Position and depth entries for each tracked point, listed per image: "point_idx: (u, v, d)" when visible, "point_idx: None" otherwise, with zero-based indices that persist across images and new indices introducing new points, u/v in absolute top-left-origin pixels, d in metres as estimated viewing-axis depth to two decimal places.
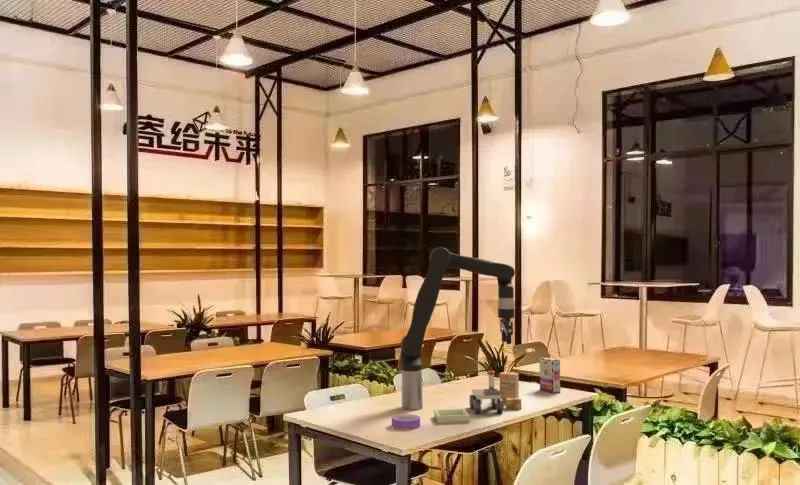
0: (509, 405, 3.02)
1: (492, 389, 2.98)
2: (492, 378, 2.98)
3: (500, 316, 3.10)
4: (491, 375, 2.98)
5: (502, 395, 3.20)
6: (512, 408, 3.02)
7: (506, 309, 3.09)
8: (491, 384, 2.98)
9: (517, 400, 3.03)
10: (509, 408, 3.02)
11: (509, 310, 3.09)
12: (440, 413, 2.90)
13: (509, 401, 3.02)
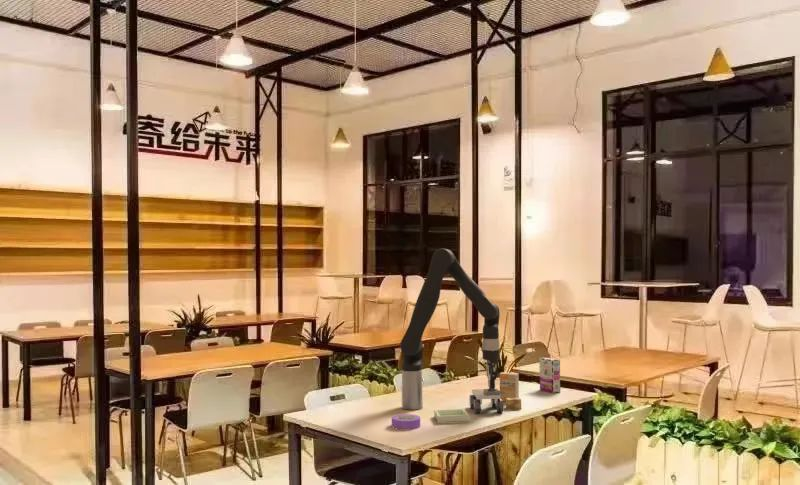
0: (509, 405, 3.02)
1: (492, 389, 2.98)
2: None
3: (484, 358, 2.97)
4: None
5: (502, 395, 3.20)
6: (512, 408, 3.02)
7: (491, 350, 2.95)
8: None
9: (517, 400, 3.03)
10: (509, 408, 3.02)
11: (494, 351, 2.96)
12: (440, 413, 2.90)
13: (509, 401, 3.02)
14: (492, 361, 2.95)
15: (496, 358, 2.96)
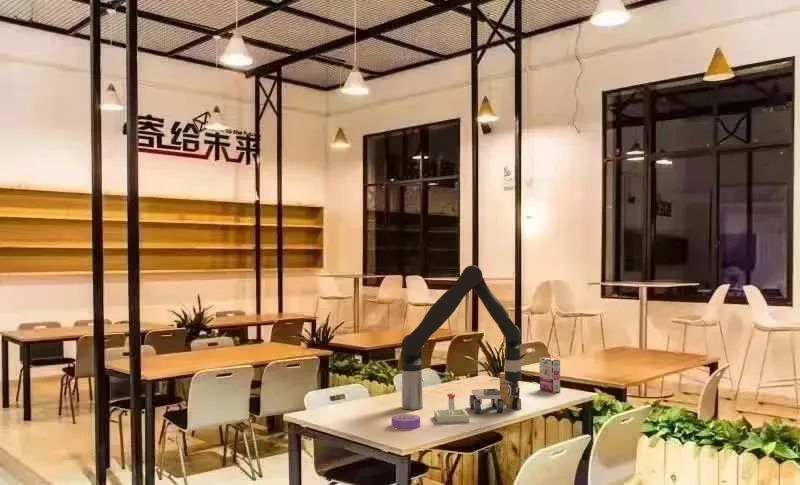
0: (509, 405, 3.02)
1: (452, 413, 2.84)
2: (452, 402, 2.84)
3: (507, 379, 3.03)
4: (451, 398, 2.84)
5: (502, 395, 3.20)
6: (512, 408, 3.02)
7: (513, 372, 3.01)
8: (451, 408, 2.84)
9: None
10: (509, 408, 3.02)
11: (516, 373, 3.01)
12: (440, 413, 2.90)
13: (509, 401, 3.02)
14: (514, 382, 3.01)
15: (518, 379, 3.02)
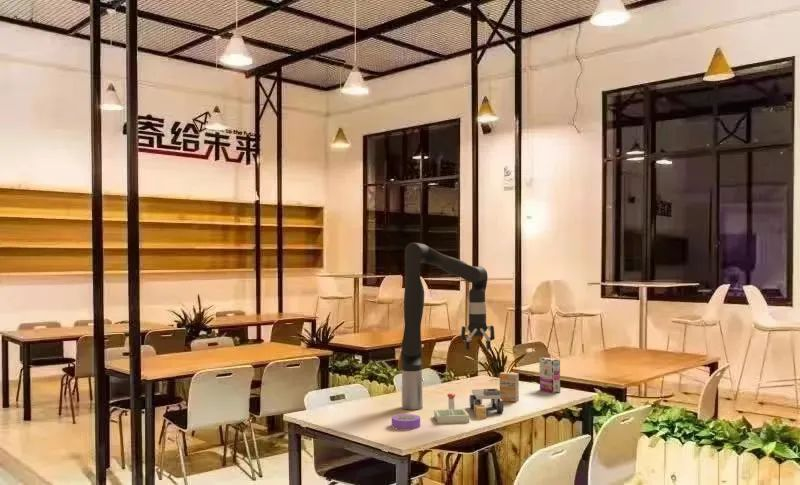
0: (474, 411, 2.92)
1: (452, 413, 2.84)
2: (452, 402, 2.84)
3: None
4: (451, 398, 2.84)
5: (502, 395, 3.20)
6: (475, 415, 2.90)
7: None
8: (451, 408, 2.84)
9: (476, 408, 2.88)
10: (474, 414, 2.92)
11: (469, 315, 2.92)
12: (440, 413, 2.90)
13: (474, 407, 2.92)
14: None
15: (470, 322, 2.91)
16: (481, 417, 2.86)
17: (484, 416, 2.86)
